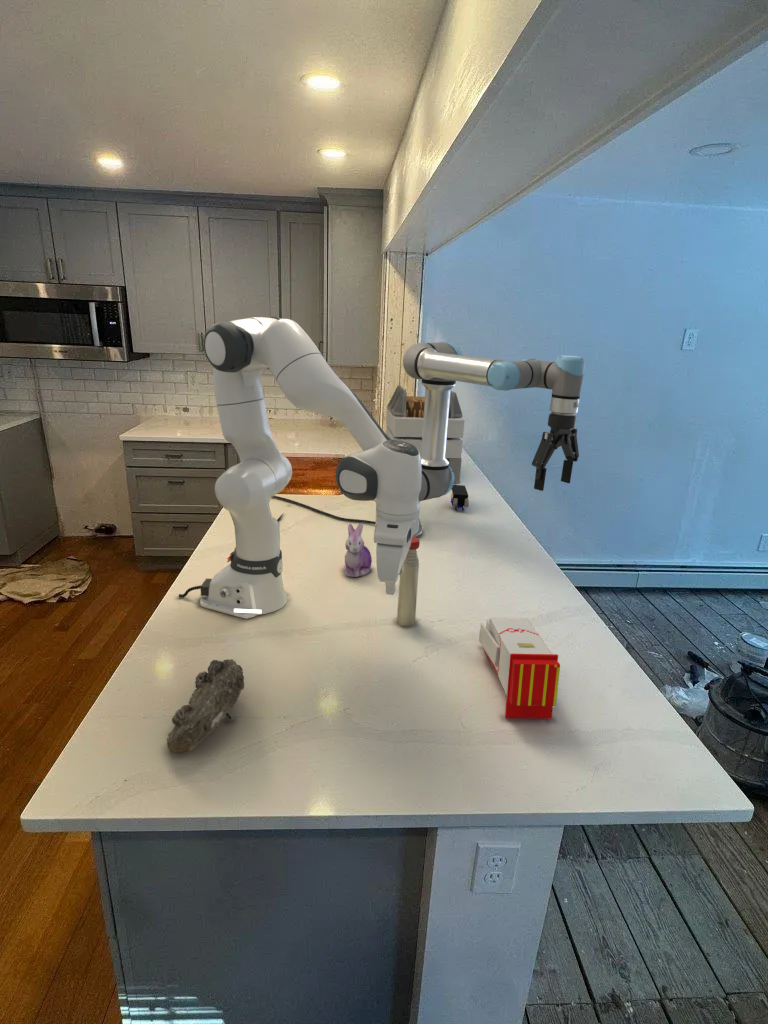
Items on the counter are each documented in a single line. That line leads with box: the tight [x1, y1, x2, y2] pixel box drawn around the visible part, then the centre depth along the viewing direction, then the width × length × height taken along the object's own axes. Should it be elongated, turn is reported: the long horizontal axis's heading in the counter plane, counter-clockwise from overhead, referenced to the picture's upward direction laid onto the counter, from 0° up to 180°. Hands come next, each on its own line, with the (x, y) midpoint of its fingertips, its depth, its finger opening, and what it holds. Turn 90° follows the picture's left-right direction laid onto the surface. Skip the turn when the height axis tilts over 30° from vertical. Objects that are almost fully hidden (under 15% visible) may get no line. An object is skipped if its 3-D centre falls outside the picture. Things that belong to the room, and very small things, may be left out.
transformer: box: [385, 384, 465, 484], centre depth 268 cm, size 34×33×41 cm
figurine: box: [343, 522, 373, 578], centre depth 168 cm, size 9×10×15 cm
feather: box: [276, 513, 284, 523], centre depth 210 cm, size 2×28×2 cm
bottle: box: [396, 549, 420, 628], centre depth 140 cm, size 5×5×22 cm
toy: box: [478, 616, 561, 720], centre depth 122 cm, size 12×13×30 cm
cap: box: [409, 537, 420, 550], centre depth 137 cm, size 4×4×2 cm
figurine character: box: [449, 484, 470, 512], centre depth 229 cm, size 7×8×15 cm
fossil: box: [166, 658, 245, 754], centre depth 106 cm, size 22×10×15 cm
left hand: (394, 582), depth 119 cm, fingers open, 8 cm apart
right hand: (552, 485), depth 166 cm, fingers open, 13 cm apart
